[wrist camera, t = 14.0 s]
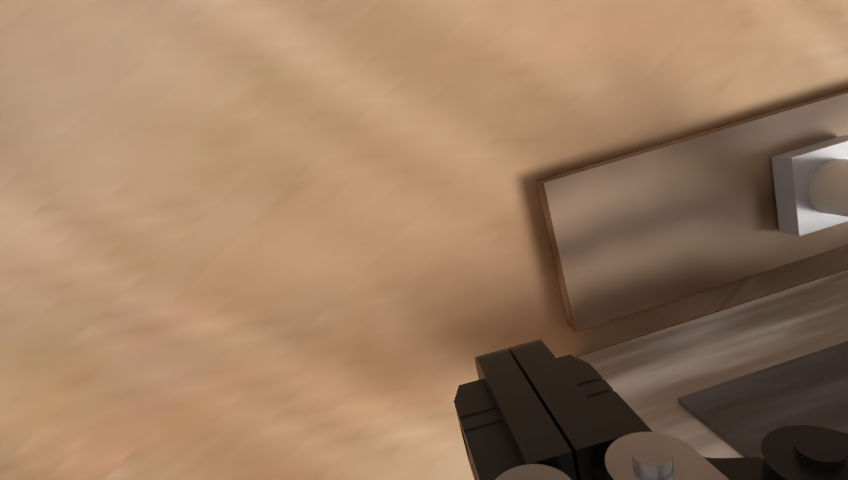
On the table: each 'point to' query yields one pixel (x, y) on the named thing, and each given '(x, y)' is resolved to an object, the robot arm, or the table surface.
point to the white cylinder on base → (812, 186)
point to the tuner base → (707, 281)
